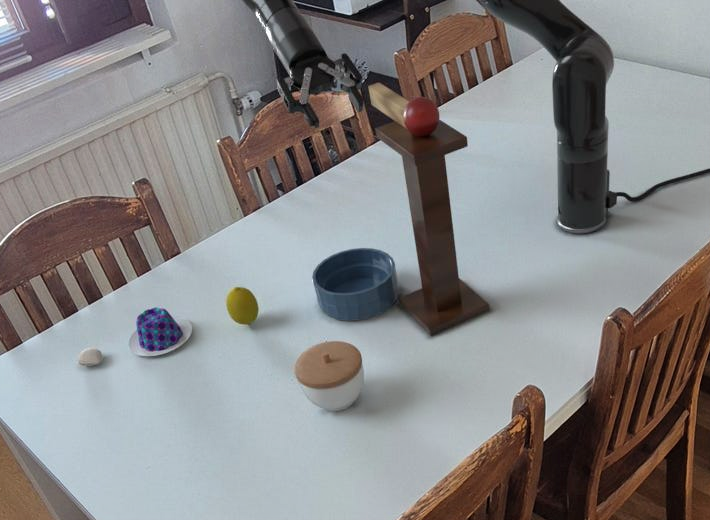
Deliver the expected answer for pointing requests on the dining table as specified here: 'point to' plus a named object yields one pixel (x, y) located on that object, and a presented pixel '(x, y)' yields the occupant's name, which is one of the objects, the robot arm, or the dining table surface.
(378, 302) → the bowl
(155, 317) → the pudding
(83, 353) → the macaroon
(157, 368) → the dining table surface
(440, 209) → the plant stand
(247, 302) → the lemon
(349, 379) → the trinket box
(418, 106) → the mallet
